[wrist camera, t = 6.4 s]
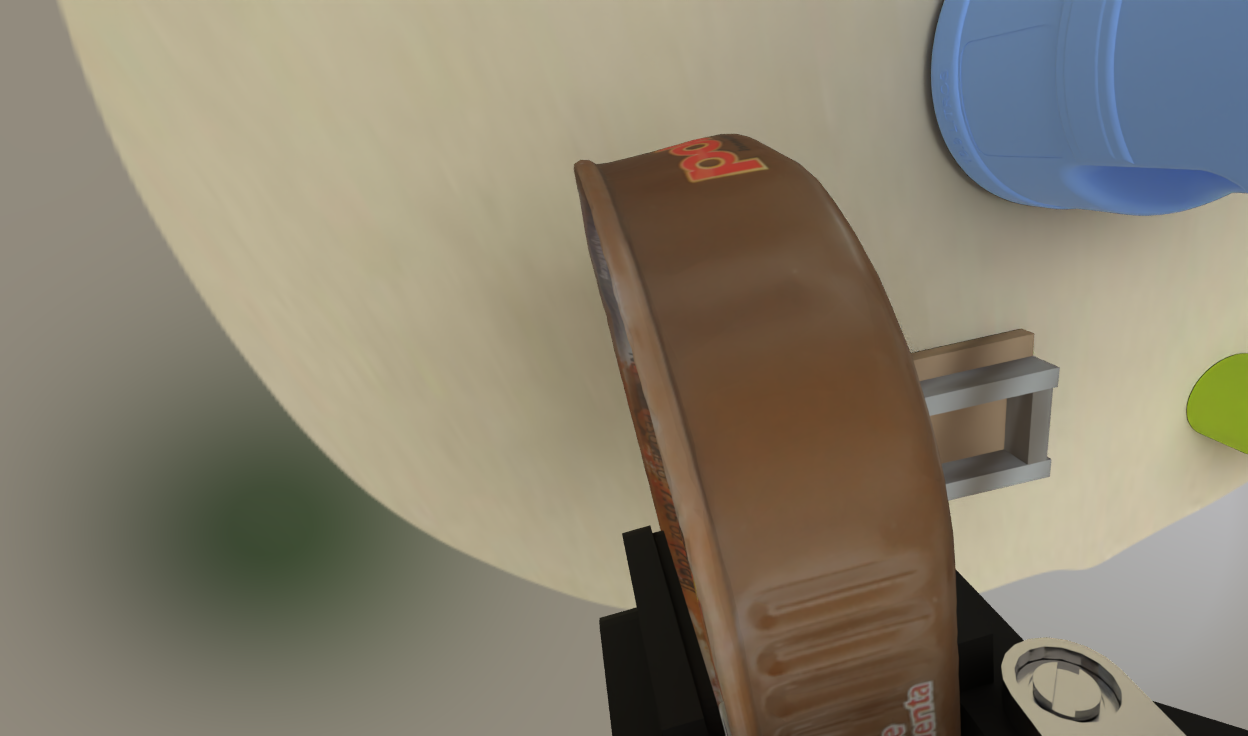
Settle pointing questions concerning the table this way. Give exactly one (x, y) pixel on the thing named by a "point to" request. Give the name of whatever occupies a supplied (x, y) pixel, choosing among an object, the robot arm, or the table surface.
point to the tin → (780, 441)
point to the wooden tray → (989, 410)
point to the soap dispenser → (1222, 403)
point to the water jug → (1096, 100)
